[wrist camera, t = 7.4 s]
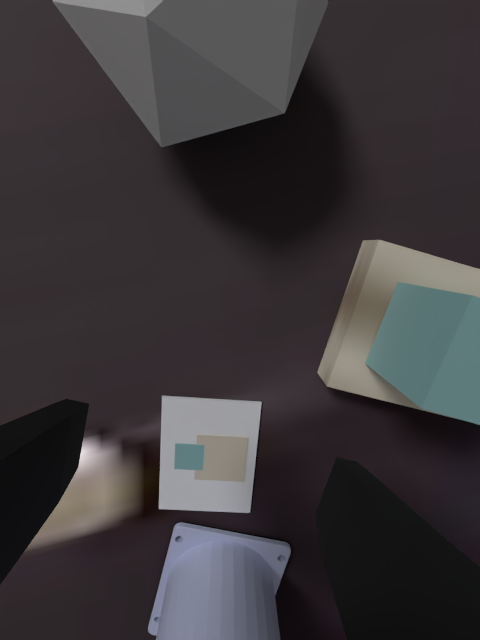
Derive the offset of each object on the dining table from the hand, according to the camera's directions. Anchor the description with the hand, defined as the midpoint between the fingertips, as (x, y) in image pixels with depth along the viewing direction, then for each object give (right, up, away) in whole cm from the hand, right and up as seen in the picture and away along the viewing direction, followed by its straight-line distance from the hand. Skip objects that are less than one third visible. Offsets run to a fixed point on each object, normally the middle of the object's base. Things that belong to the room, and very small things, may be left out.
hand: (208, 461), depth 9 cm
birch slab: (+10, +4, +10) cm, 15 cm away
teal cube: (+10, +3, +8) cm, 13 cm away
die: (-1, +16, +7) cm, 18 cm away
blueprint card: (-1, -5, +11) cm, 12 cm away
